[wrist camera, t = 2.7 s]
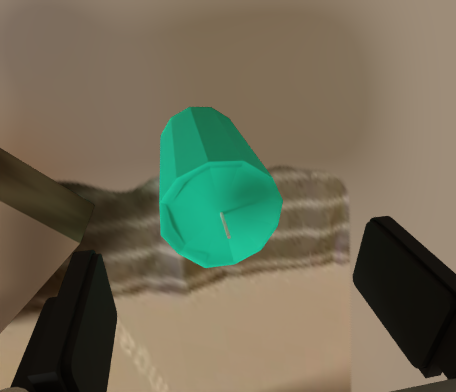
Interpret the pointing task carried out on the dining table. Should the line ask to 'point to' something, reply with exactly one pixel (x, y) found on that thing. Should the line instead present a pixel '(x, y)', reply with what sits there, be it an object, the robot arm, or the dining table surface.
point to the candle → (213, 190)
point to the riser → (33, 231)
